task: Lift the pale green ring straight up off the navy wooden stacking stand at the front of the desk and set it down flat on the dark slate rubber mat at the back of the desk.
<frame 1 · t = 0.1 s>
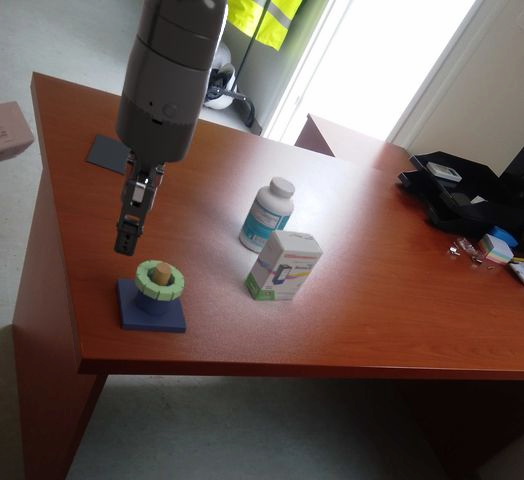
hand: (128, 231, 55), 13 cm above the table, tool pointing down, fingers open, 8 cm apart
stand: (150, 308, 67), on the table
ink box: (268, 292, 82), on the table
ring: (158, 283, 64), point 5 cm above the table, touching stand
mat: (123, 158, 91), on the table
pill bottle: (254, 243, 91), on the table
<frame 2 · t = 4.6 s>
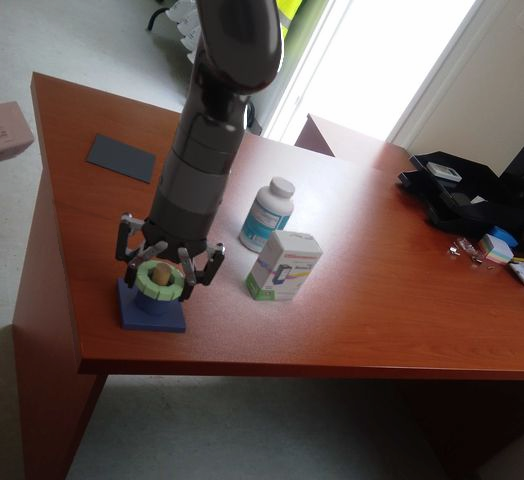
hand: (155, 291, 65), 3 cm above the table, tool pointing down, fingers closed on ring, 6 cm apart
ring: (158, 283, 64), point 5 cm above the table, touching gripper, stand
everything else where it was.
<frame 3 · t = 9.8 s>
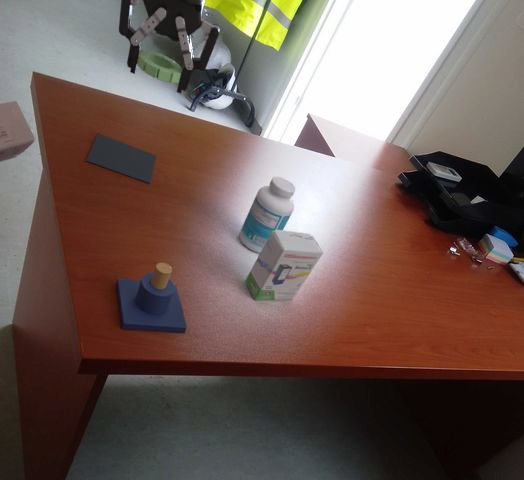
hand: (156, 81, 71), 20 cm above the table, tool pointing down, fingers closed on ring, 6 cm apart
ring: (158, 71, 70), point 22 cm above the table, touching gripper
everything else where it was.
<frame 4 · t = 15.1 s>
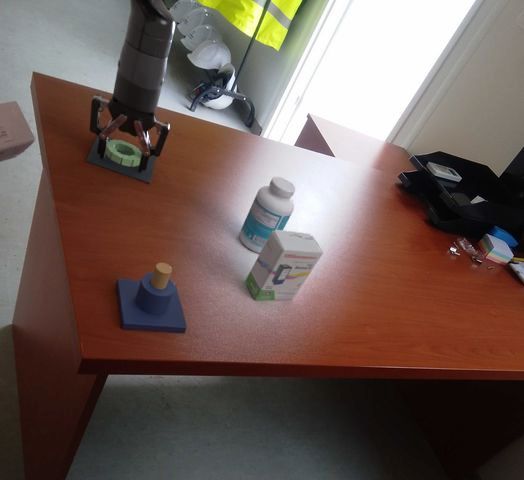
hand: (121, 163, 89), 1 cm above the table, tool pointing down, fingers closed on ring, 6 cm apart
ring: (123, 156, 88), point 2 cm above the table, touching gripper
everything else where it was.
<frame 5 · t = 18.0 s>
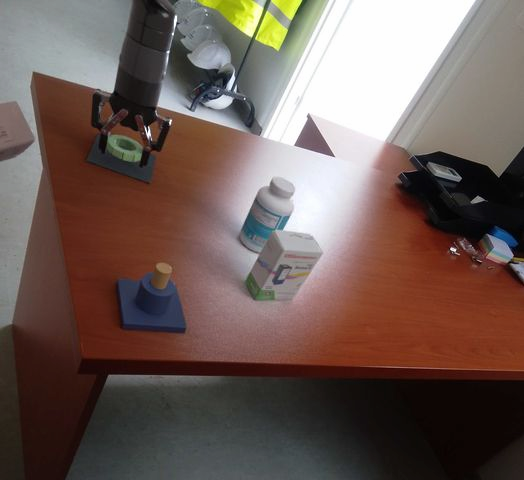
hand: (122, 158, 88), 2 cm above the table, tool pointing down, fingers closed on ring, 6 cm apart
ring: (124, 151, 87), point 3 cm above the table, touching gripper
everything else where it was.
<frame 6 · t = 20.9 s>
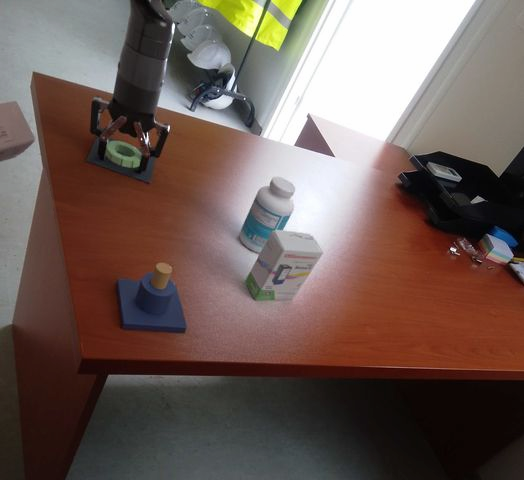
hand: (121, 164, 89), 0 cm above the table, tool pointing down, fingers closed on ring, 6 cm apart
ring: (123, 157, 88), point 2 cm above the table, touching gripper
everything else where it was.
when the fingers open (1 cm above the table, at t = 26.4 s): ring drops 3 cm, resting on mat.
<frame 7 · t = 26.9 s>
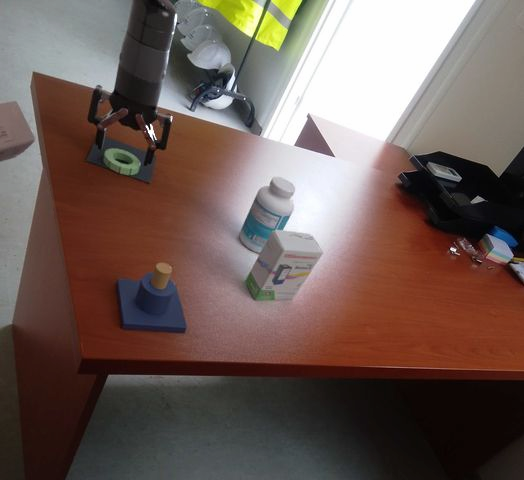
hand: (123, 156, 88), 2 cm above the table, tool pointing down, fingers open, 8 cm apart
ring: (121, 164, 89), resting on mat
everything else where it was.
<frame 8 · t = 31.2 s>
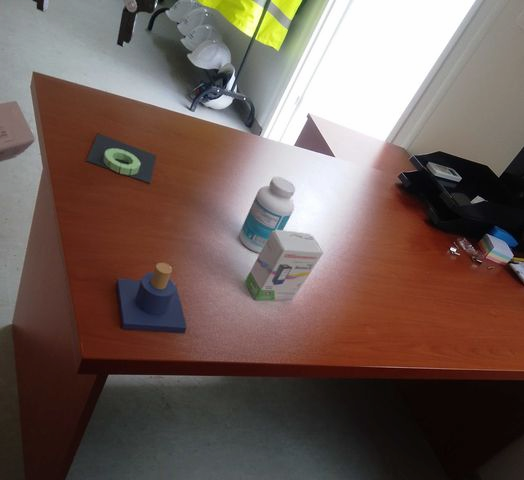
hand: (82, 27, 52), 28 cm above the table, tool pointing down, fingers open, 8 cm apart
nothing on the table moved.
at the end: ring inside the target area on the mat (2.8 cm from its centre), point 0.2 cm above the mat's base; ring touching mat; ring tilted 0° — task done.
